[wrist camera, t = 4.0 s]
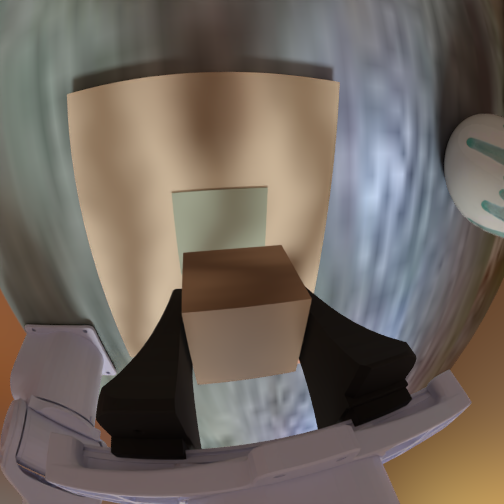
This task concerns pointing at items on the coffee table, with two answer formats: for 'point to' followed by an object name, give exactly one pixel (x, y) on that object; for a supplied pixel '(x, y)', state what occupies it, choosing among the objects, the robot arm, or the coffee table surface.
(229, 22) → the coffee table surface
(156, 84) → the birch board
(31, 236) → the coffee table surface
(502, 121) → the vase
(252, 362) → the walnut block
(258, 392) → the coffee table surface
